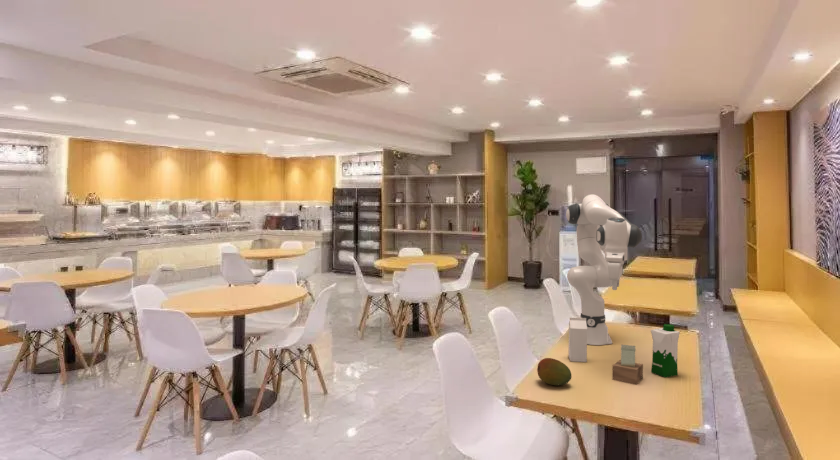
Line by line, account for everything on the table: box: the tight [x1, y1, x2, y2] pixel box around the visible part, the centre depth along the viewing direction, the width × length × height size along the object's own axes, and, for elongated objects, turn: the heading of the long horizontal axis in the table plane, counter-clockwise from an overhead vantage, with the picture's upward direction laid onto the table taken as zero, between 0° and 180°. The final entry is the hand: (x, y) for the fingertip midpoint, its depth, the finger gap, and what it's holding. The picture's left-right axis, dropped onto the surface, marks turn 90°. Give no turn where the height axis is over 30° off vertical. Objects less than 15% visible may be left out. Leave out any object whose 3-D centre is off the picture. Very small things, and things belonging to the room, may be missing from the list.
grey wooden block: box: [620, 344, 637, 367], centre depth 194 cm, size 5×5×7 cm
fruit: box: [536, 357, 572, 386], centre depth 188 cm, size 12×12×10 cm
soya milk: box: [650, 323, 681, 378], centre depth 199 cm, size 9×9×20 cm
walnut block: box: [611, 359, 644, 385], centre depth 194 cm, size 9×9×6 cm
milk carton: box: [568, 317, 588, 363], centre depth 219 cm, size 7×7×19 cm
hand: (615, 288), depth 207 cm, fingers open, 8 cm apart
